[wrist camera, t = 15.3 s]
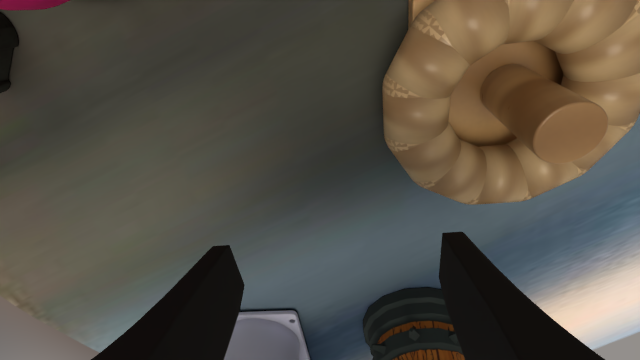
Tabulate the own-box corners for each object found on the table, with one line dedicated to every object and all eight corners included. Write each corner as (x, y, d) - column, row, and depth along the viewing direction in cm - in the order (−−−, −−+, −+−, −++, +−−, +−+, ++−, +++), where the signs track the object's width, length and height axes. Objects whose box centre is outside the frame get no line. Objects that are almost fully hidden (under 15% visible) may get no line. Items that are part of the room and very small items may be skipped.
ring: (581, 175, 18) (619, 207, 16) (383, 189, 20) (389, 221, 17) (663, -67, 12) (743, -77, 10) (375, -22, 14) (382, -21, 11)
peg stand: (566, 149, 19) (662, 225, 13) (408, 163, 20) (432, 238, 14) (620, -35, 14) (804, -41, 8) (408, -2, 15) (444, 12, 10)
